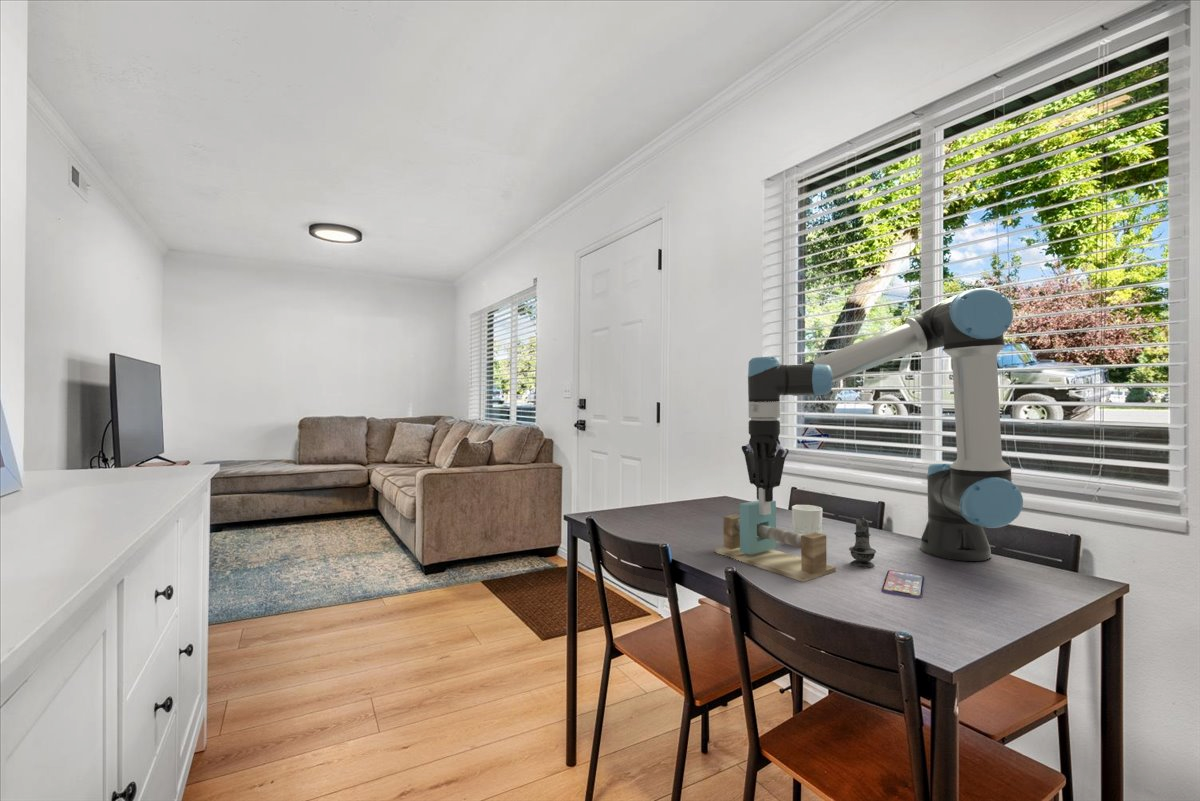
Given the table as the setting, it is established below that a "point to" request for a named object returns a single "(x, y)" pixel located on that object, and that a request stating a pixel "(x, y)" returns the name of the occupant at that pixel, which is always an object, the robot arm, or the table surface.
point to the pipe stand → (776, 561)
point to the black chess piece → (862, 545)
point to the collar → (755, 527)
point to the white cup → (807, 519)
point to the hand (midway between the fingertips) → (764, 513)
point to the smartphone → (903, 584)
